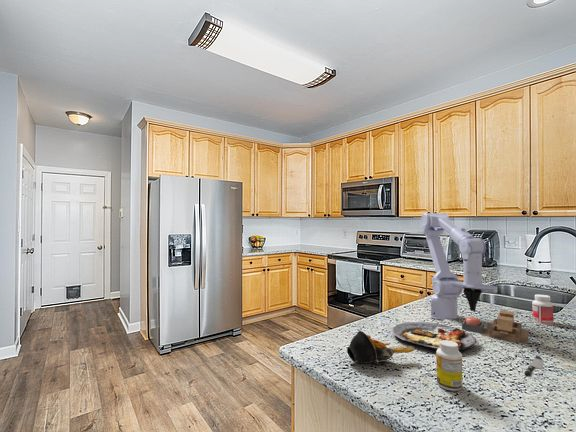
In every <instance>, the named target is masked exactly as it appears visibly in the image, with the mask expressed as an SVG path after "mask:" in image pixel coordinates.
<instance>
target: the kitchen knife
mask: <svg viewBox="0 0 576 432" xmlns="http://www.w3.org/2000/svg"><path fill="white" fill-rule="evenodd" d="M544 365H545V362H544V360H543V359H542V357H541V356H539V355H536V356H535V357H534V359H532V361H531V363H530V364H529V365H528V367H527V368H526V370H525V371H524V373H523V374H524V376H527V377H529V376H532V375H531V372H532V371H533V370H534V369H536V370H540V371H541V370H542V371H543V370H544Z"/></svg>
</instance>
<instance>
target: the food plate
mask: <svg viewBox="0 0 576 432" xmlns="http://www.w3.org/2000/svg"><path fill="white" fill-rule="evenodd" d="M437 328H438V329H437ZM436 329H437V333H434V331H435V330H436ZM446 330H449V331H450V332H448V331H446ZM391 331H392V334H393V335H394V336H395V337H397V338H398V339H401V340H402V341H406V342H410V343H411V344H414V345H415V344H416V345H419V346H423V347H425V348H427V347H428V348H432V349H436V350H437V349H438V348H440V341H442V340H448V341H453V342H455V343H457V344H458V349H459V350H464V349H469V348H470V347H472V346H474V345H475V344H477V339H476V338H475V337H474V336H473V334H471V333H469V332H466V330H463V329H461V328H460V329H459V328H458V327H454V326H451V325H444V324H440V323H433V322H427V321H415V322H413V321H412V322H411V321H410V322H409V321H408V322H401V323H399V324H396V325H395V326H394V327H392V328H391Z"/></svg>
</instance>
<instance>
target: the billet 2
mask: <svg viewBox="0 0 576 432" xmlns="http://www.w3.org/2000/svg"><path fill="white" fill-rule="evenodd" d="M496 319H497V331H499V332H500V331H502V332H507V333H509V334H513V318H510V317H504V316H499V315H497V318H496Z"/></svg>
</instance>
